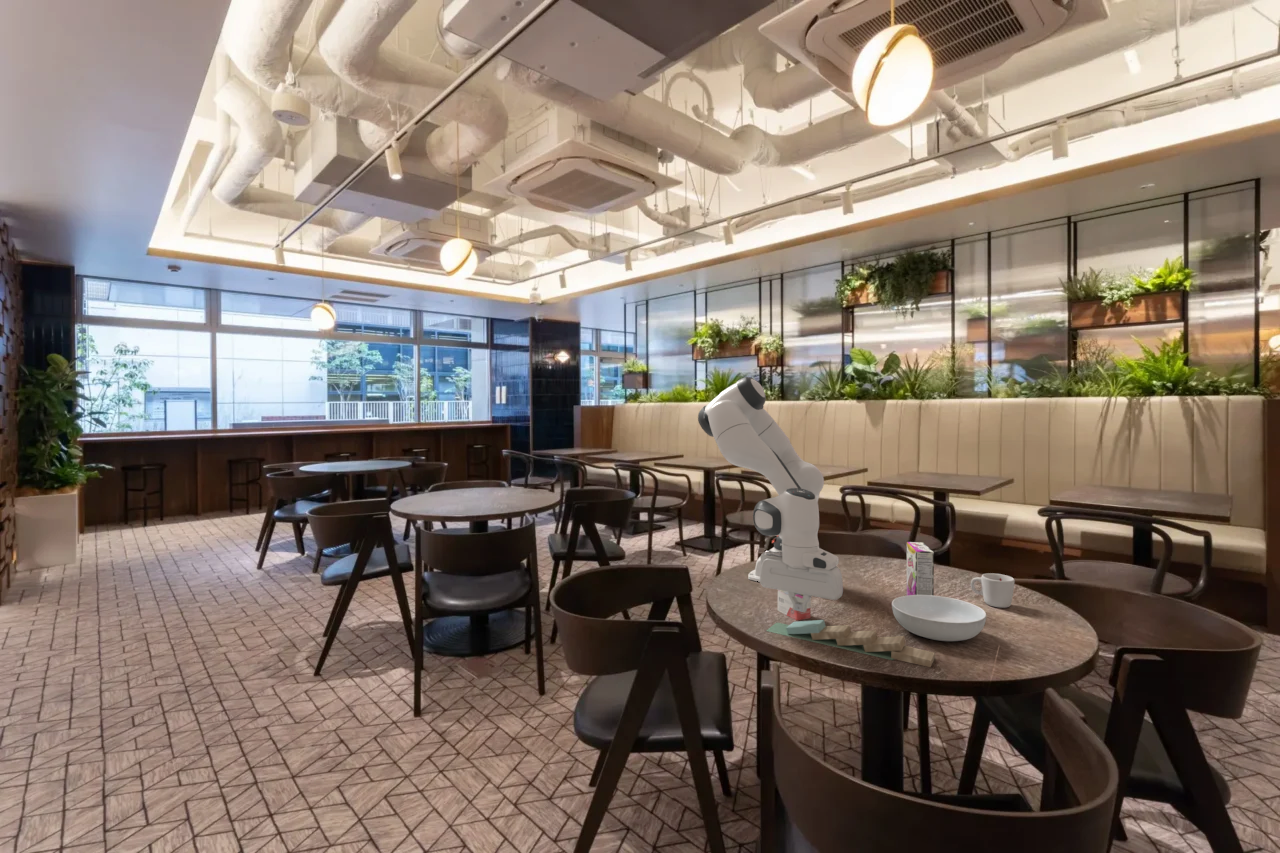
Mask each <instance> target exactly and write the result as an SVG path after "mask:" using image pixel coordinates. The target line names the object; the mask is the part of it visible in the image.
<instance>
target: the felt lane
mask: <svg viewBox="0 0 1280 853" xmlns="http://www.w3.org/2000/svg"><path fill="white" fill-rule="evenodd" d="M789 625H790V624H786V623H782V622H775V623H774V624H773V625H771V626H770V627H768V629H766V630H765V631H766V632H768V633H773V634H778V635H782V636H786V637H791V638H795V639H798V640H804V641H807V642H812V643H815V644H816V643H817V644H820V645H825V646H829V647H834V648H836V649H837V648H838V649H842V650H846V651H850V652H854V653H858V654H864V655H867V656H873V657H877V658H880V659H886V660H889V661H895V659H893V658H891V651H878V652H865V650H864V646H863V645H844V646H838V645H837V641H836V639H821V640H812V636H811V633H805V634H788V633H787V629H786V628H787V627H788V626H789Z"/></svg>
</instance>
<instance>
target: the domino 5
mask: <svg viewBox="0 0 1280 853" xmlns="http://www.w3.org/2000/svg"><path fill="white" fill-rule="evenodd" d="M935 656H936V652H933V651H929V650H926V649H920V648H916V647H913V646H907V645H906V644H905V645H904V647H903V649H902V650H901V651H891V658H893V659H894V660H898V661H902V662H904V663H905V662H906V663H910V664H915V665H919V666H923V667H927V668H931V667H932V665H933V663H934V661H935Z"/></svg>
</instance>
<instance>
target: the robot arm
mask: <svg viewBox="0 0 1280 853" xmlns="http://www.w3.org/2000/svg"><path fill="white" fill-rule="evenodd" d="M766 395H767V394H766V393H765V390H764V387H763V386H762V385H761V384H760V382H759V381H757V380H756V379H754V378H753V377H750V376H745V377H742V378H740V379H738V380H737V381H736V382H735V383H733V384H731V385H729V386H728V387H726V388H725V389H724V390H722V391H721V392H719V394H718V395H717V396H714V398H713V399H712V400H710V402H709V403H707V404H706V405H704V406H703V407H702V408H701V409H700V410H699V412H698V416H697V420H698V424H699V426H700V427H701V429H702V430H703V432H704V433H705V434H706V435H708V436H709V437H712V438H713V439H714V441H715V443H716V445H717V448H718V450H719V452H720V453H721V455H722V456H723V458H724V459H725V460H726V461H727V462H728V463H729V464H732V466H736V467H739V468H744V469H749V470H751V471H754V472H756V473H759V474H761V475H763V476H764V477H765V478H766V479H767V480H768V481H769V483H770V484H771V485H772V487H773V489H774V490H775V492H776V493H777V496H773V497H770V498H769V497H768V498H767V499H762V500H760V501H758V502H757V503H756V504H755V505H754V508H753V512H752V521H753V524H754V527H755V528H756V529H755V530H757V531H758V533H760V534H761V535H762V536H767V537H774V538H773V539H772V540H771V544H773V547H772V548H770V549H769V550H766V551H763V552H762V553H761V555H760V556H759V557H758V558H757V560H756V562H755V567H754V569H753V570H751V571H750V572H749V573H748V575H747V576H748V577H747V578H748V580H750V581H754V582H757V581H758V583H759V584H760V585H761V587H763V588H767V589H771V590H772V589H773V590H777V591H778V590H782V591H787V592H789V598H790V599H791V601H792V603H793V610H796V611H801V612H806V610H807V603H808V602H809V600H810V599H812V597H816V598H820V599H825V600H831V601H837V600H839V599H840V598H841V597H842V596H843V592H844V586H843V585H844V584H843V583H844V582H843V575H842V574H843V573H842V572H841V570H840V567H838V564H839V562H840V559H839V558H840V557H838V556H837V555H835V554H833V553H831V552H829V551H827V550H824V549H822V548H821V547H820V542H819V538H818V531H819V529H820V512H819V511H820V510H819V499H820V493H821V491H822V490H823V488H824V485H825V478H824V475H823V473H822V472H821V470H820V469H819V468H818V467H817V466H816V465H814V464H813V463H810V462H807V461H804V459H802V458H801V457H800V456H799V454H798V453H797V451H796V450H795V448H794V446H793V444H792V443H791V441H790V438H789V437H788V435H787V434H786V433H785V432H784V431H783V429H782V428H781V426H779V424H778V423H777V422H776V420H775V419H774V418H773V417H772V416H771V414H769V412H768V411H767V410H766V409H765V408H764V405H765V403H766V399H767V396H766ZM775 536H776V537H775ZM797 593H798V594H803V599H805V600H804V602H803V603H801V602H798V601H797V598H796V596H795V595H796V594H797Z"/></svg>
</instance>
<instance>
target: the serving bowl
mask: <svg viewBox="0 0 1280 853" xmlns="http://www.w3.org/2000/svg"><path fill="white" fill-rule="evenodd" d="M891 609H892V613H893V616H894V618H895V619H896V621H897V622H898V624H899V625H900V626H901V627H903V628H904V629H905V630H906V631H908V632H910V633H911V634H913V635H916V636H918V637H923V638H926V639H928V640H929V639H930V640H934V641H940V642H960V641H966V640H967V641H968V640H970V639H972V638H974V637H976V636H978V634H980V633H981V632H982V630H984V627H985V624H986V622H987V613H986V611H985V610H984V609H983V608H981V607H980V606H978V605H975V603H971V602H968V601H965V600H962V599H958V598H953V597H948V596H940V595H934V596H933V595H908V596H906V595H903V596H899V597H896V598H894V599H893V600H892V601H891Z"/></svg>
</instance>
